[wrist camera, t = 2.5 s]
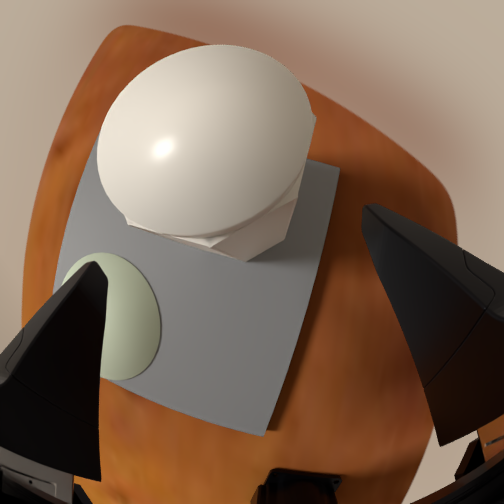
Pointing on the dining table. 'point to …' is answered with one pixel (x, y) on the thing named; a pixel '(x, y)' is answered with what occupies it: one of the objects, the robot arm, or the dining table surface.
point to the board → (200, 305)
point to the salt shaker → (209, 149)
